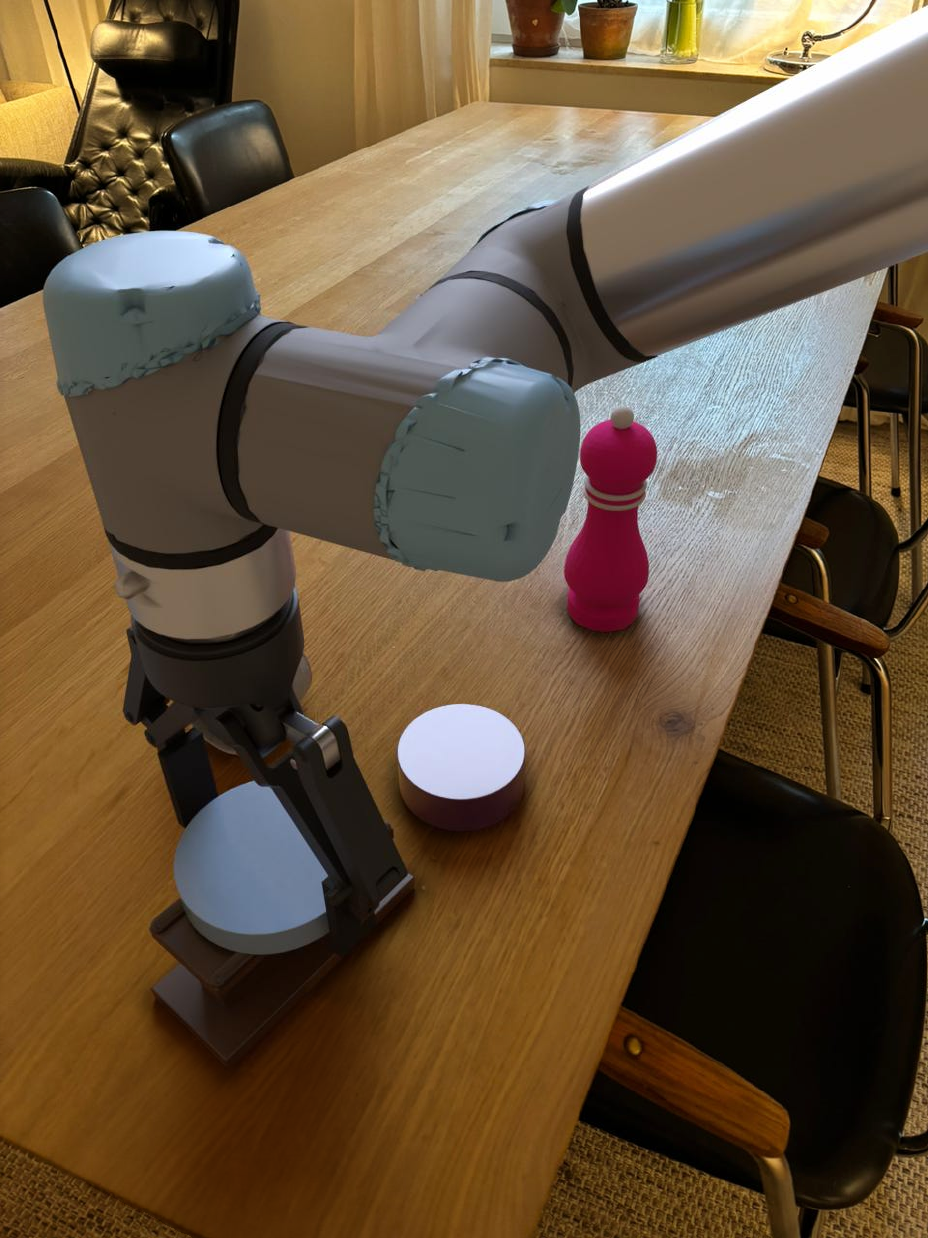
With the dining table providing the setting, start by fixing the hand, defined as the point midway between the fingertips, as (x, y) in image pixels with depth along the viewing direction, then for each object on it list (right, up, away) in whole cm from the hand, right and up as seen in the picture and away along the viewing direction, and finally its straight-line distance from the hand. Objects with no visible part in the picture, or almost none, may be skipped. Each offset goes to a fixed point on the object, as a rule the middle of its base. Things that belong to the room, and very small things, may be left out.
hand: (272, 872), depth 59 cm
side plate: (0, 0, 0) cm, 0 cm away
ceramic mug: (-7, +7, +20) cm, 22 cm away
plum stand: (+11, +3, +14) cm, 19 cm away
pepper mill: (+24, +16, +29) cm, 41 cm away
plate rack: (0, -5, +5) cm, 7 cm away
